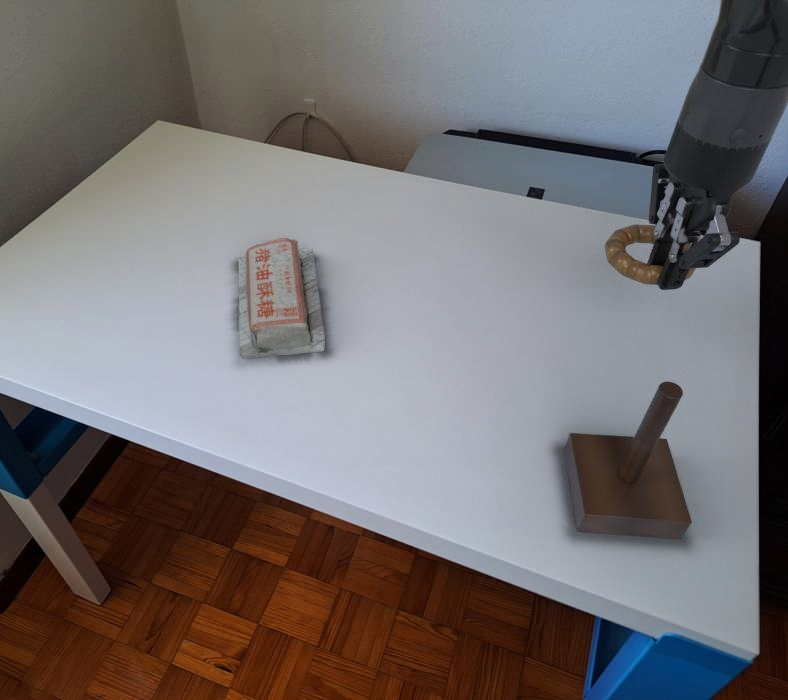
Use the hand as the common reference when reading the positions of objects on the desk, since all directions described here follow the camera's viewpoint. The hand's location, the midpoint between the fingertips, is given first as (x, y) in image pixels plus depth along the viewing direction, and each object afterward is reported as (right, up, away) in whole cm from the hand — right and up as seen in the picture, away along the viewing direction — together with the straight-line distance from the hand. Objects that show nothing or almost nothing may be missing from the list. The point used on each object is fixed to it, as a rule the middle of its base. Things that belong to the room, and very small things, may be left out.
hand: (662, 277), depth 71 cm
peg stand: (-7, -21, -6) cm, 23 cm away
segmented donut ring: (0, +3, +2) cm, 4 cm away
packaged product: (-41, -2, +14) cm, 43 cm away
